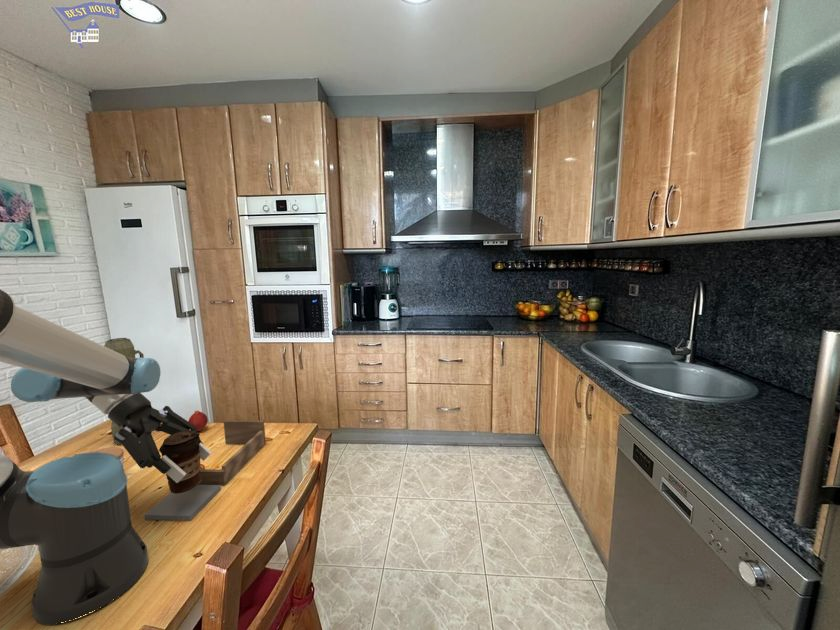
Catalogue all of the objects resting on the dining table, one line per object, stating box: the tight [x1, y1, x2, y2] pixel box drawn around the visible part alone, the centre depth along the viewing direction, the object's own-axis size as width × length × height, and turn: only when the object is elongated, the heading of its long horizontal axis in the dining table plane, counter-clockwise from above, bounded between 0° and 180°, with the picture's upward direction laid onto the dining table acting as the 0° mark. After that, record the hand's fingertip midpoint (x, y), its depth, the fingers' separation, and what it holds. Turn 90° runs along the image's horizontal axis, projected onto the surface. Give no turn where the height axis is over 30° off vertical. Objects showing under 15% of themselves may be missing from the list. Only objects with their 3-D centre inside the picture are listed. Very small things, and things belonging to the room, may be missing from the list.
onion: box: [187, 409, 209, 432], centre depth 119 cm, size 6×6×8 cm
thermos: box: [104, 337, 145, 445], centre depth 112 cm, size 9×12×35 cm
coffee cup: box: [158, 429, 202, 494], centre depth 81 cm, size 9×8×13 cm
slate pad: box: [143, 485, 222, 522], centre depth 82 cm, size 11×11×1 cm
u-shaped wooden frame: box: [198, 419, 266, 487], centre depth 99 cm, size 22×13×8 cm, turn 178°
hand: (195, 466), depth 81 cm, fingers closed on coffee cup, 8 cm apart
